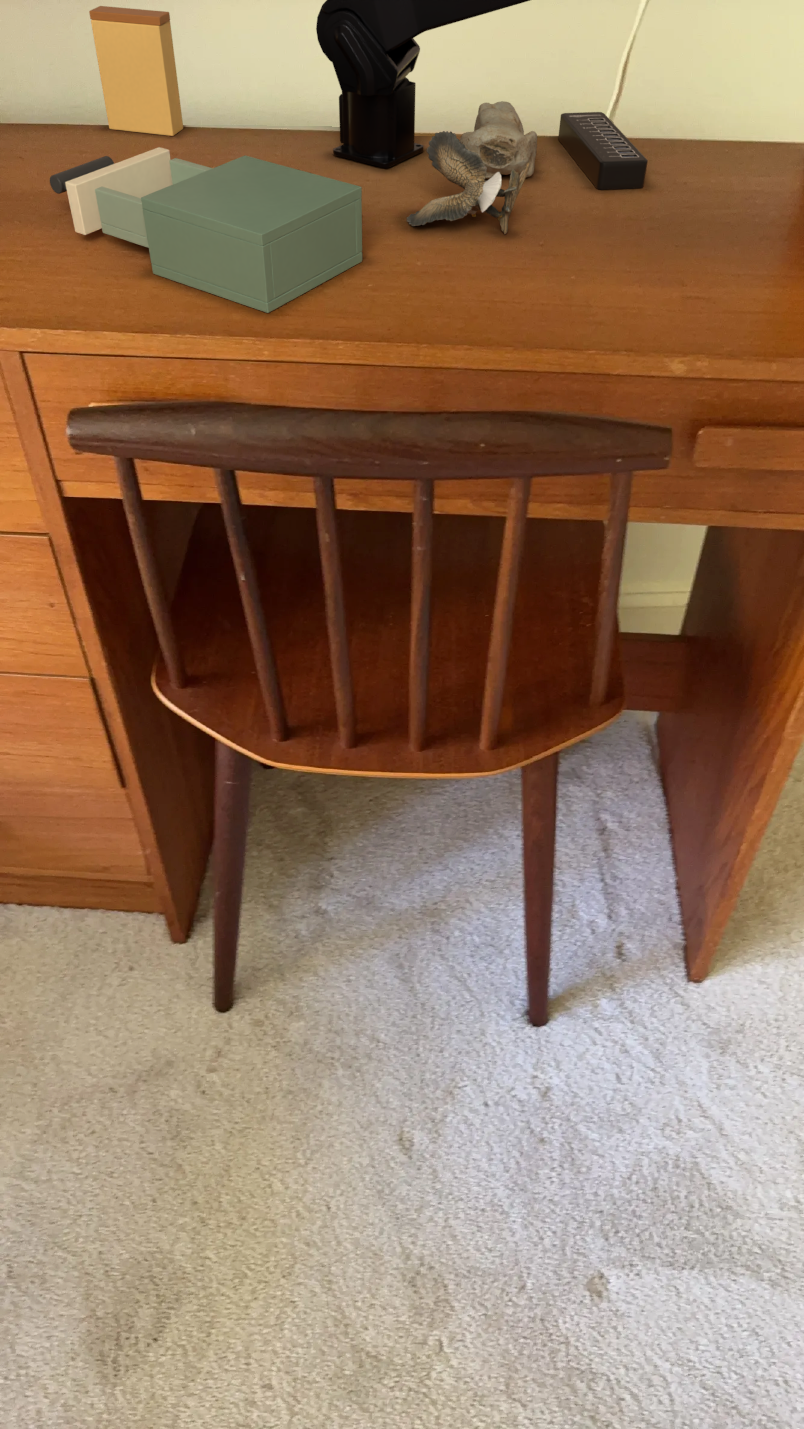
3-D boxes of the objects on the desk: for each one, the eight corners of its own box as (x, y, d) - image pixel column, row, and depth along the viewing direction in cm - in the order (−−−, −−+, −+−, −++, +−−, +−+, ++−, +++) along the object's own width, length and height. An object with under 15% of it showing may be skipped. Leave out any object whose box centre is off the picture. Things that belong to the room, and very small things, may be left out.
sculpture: (453, 144, 104) (458, 185, 93) (458, 90, 101) (464, 125, 90) (523, 150, 105) (537, 191, 93) (530, 96, 102) (546, 131, 90)
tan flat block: (184, 128, 104) (170, 11, 97) (174, 136, 103) (158, 17, 96) (119, 121, 106) (100, 4, 99) (108, 128, 104) (87, 10, 97)
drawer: (34, 218, 85) (23, 168, 82) (127, 182, 91) (119, 135, 88) (170, 264, 79) (162, 212, 76) (259, 222, 85) (255, 172, 82)
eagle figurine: (526, 196, 89) (428, 162, 90) (535, 136, 82) (429, 100, 83) (495, 271, 88) (396, 237, 89) (502, 217, 81) (395, 180, 82)
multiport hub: (597, 189, 94) (601, 162, 92) (557, 138, 104) (559, 112, 102) (644, 187, 94) (649, 160, 93) (599, 136, 104) (603, 110, 103)
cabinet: (152, 273, 80) (140, 197, 76) (251, 227, 87) (244, 154, 83) (268, 313, 75) (261, 234, 71) (362, 261, 82) (361, 186, 78)
